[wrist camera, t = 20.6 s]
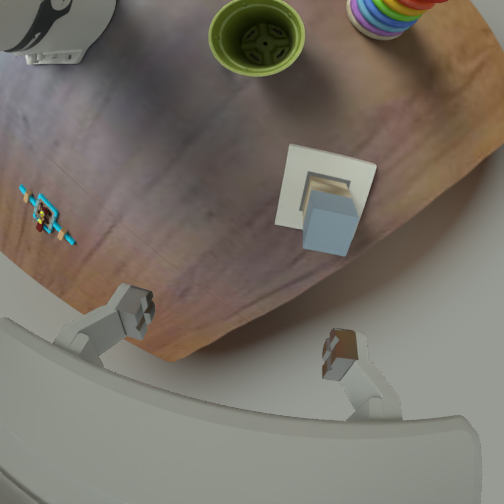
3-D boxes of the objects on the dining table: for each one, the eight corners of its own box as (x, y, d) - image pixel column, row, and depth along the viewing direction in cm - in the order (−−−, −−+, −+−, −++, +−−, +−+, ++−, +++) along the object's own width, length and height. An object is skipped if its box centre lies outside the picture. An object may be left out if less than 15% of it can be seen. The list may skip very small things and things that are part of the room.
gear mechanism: (69, 253, 55) (80, 231, 50) (56, 267, 50) (65, 245, 46) (19, 200, 48) (25, 173, 44) (4, 211, 44) (9, 183, 39)
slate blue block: (302, 225, 35) (302, 248, 31) (311, 189, 32) (312, 208, 28) (340, 233, 34) (345, 256, 30) (351, 198, 31) (359, 218, 27)
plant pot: (274, 91, 31) (267, 94, 24) (214, 54, 29) (190, 48, 22) (318, 39, 26) (324, 27, 19) (255, 1, 24) (243, -19, 17)
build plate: (275, 220, 42) (274, 224, 41) (289, 143, 35) (289, 145, 34) (351, 236, 41) (352, 240, 40) (374, 163, 34) (377, 166, 33)
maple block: (302, 208, 39) (302, 225, 35) (310, 175, 36) (311, 189, 32) (336, 215, 38) (340, 233, 34) (346, 183, 35) (352, 198, 31)
